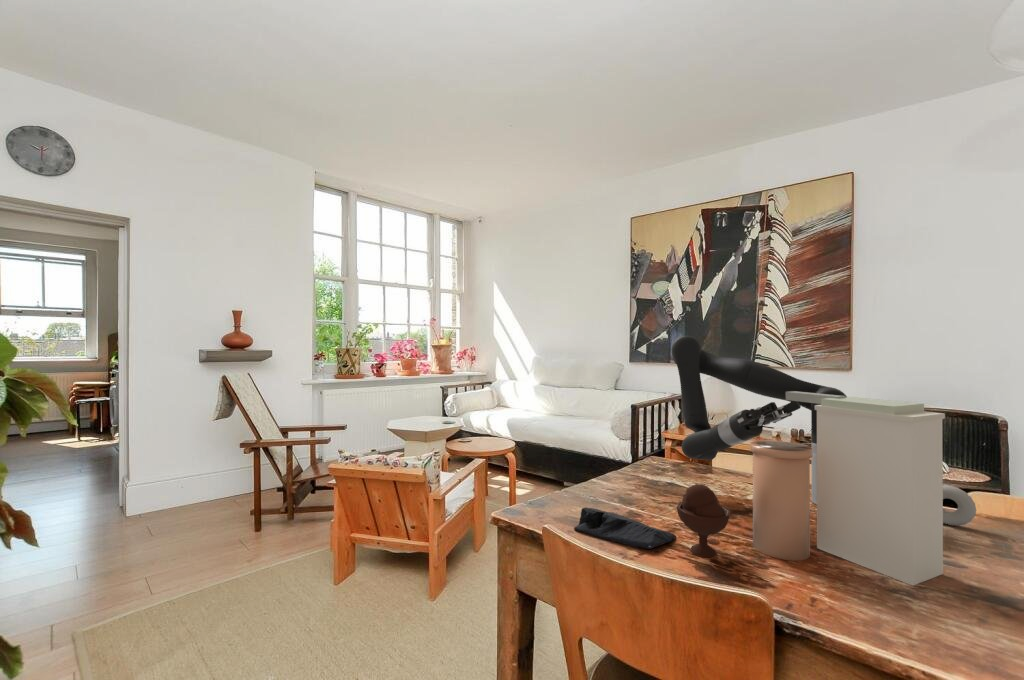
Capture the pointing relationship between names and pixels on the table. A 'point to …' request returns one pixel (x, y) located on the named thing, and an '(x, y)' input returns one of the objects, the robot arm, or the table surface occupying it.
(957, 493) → the donut
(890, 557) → the upright grey panel box
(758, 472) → the terracotta pot
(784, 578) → the table surface
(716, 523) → the ice cream bowl
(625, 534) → the black flat lumpy piece
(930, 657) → the table surface
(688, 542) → the table surface
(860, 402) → the cover
